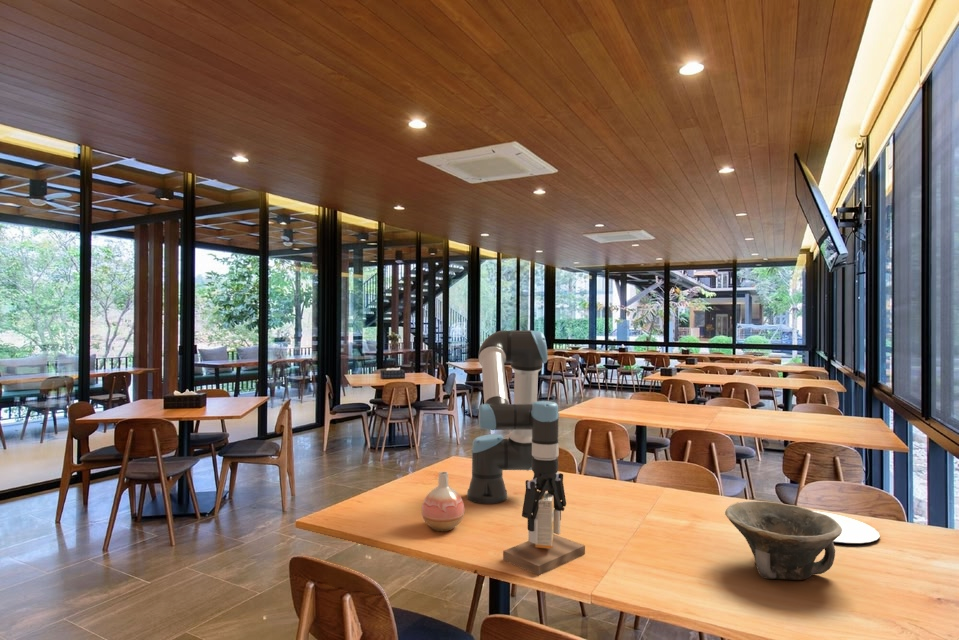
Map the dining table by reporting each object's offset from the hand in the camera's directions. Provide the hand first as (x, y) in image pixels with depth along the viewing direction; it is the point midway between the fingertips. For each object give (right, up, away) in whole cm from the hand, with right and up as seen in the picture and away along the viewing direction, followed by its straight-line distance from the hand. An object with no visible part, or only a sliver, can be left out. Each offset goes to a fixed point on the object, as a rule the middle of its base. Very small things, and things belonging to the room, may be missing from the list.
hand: (544, 537), depth 152 cm
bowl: (+62, -6, -9) cm, 63 cm away
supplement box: (0, -2, 0) cm, 2 cm away
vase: (-30, -6, +22) cm, 38 cm away
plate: (+93, -7, +23) cm, 96 cm away
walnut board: (0, -5, 0) cm, 5 cm away
